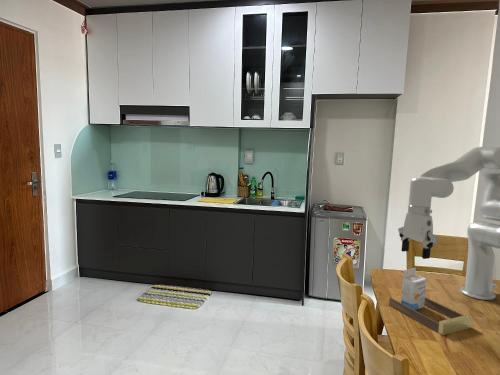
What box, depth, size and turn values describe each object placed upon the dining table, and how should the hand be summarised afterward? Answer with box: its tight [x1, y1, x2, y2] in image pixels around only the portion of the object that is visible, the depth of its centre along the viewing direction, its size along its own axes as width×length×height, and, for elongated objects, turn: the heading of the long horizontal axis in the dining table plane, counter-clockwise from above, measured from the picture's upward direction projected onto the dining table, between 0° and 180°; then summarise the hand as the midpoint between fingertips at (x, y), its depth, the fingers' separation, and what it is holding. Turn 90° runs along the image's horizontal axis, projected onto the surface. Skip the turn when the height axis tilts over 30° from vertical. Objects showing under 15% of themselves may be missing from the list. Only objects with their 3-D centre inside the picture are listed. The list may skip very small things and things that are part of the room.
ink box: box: [400, 267, 428, 311], centre depth 133 cm, size 8×5×15 cm, turn 123°
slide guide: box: [388, 296, 474, 336], centre depth 127 cm, size 14×24×4 cm, turn 22°
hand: (415, 254), depth 132 cm, fingers open, 9 cm apart
